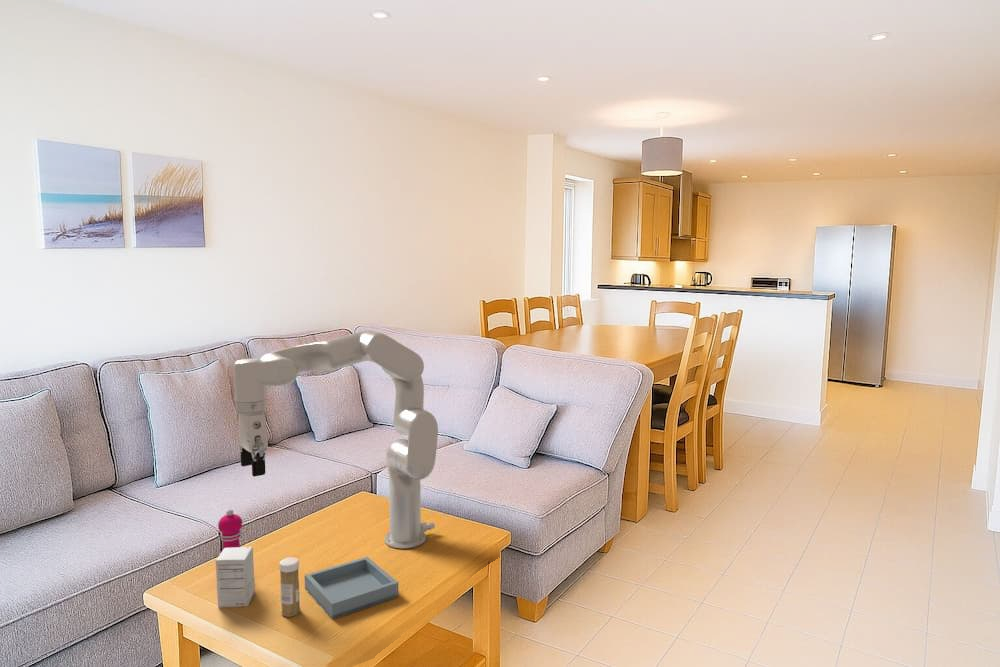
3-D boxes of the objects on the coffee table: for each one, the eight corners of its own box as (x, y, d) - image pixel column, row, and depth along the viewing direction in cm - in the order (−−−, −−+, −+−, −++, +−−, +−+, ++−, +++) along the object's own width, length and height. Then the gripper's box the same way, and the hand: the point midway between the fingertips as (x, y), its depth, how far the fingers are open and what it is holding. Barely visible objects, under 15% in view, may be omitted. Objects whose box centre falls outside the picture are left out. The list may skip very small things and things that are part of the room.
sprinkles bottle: (304, 611, 165) (302, 559, 163) (288, 619, 161) (287, 567, 159) (292, 605, 167) (290, 554, 166) (277, 613, 164) (275, 561, 162)
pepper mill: (252, 576, 182) (250, 506, 180) (234, 589, 175) (231, 516, 173) (231, 572, 184) (228, 502, 182) (212, 584, 178) (208, 512, 175)
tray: (367, 570, 186) (367, 556, 186) (398, 597, 172) (398, 582, 172) (304, 589, 176) (304, 574, 175) (332, 619, 161) (331, 604, 161)
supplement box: (226, 593, 173) (224, 546, 172) (255, 592, 174) (253, 546, 172) (216, 608, 166) (214, 560, 164) (247, 607, 167) (245, 559, 165)
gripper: (276, 411, 168) (278, 476, 170) (255, 398, 182) (257, 459, 184) (245, 415, 164) (248, 482, 166) (226, 402, 178) (229, 464, 180)
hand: (253, 470), depth 175 cm, fingers open, 9 cm apart
